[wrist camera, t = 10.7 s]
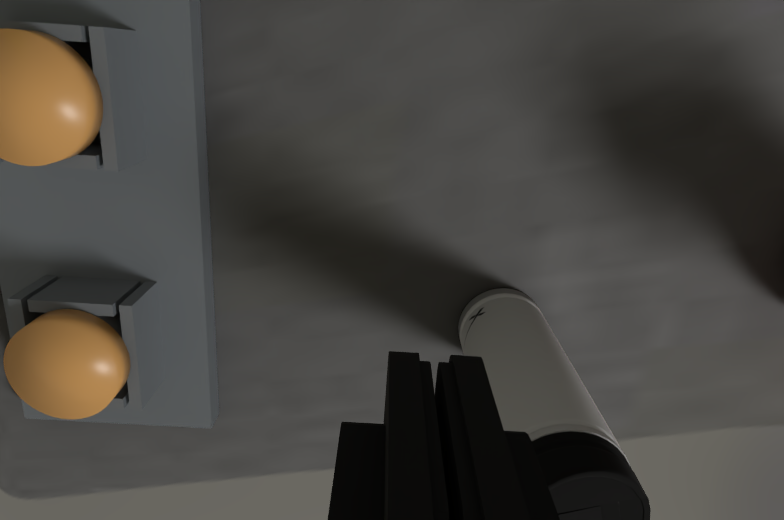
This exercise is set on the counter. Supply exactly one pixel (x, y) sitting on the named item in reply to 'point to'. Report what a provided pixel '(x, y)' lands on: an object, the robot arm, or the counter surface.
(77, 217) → the console
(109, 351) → the knob
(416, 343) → the counter surface
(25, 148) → the knob
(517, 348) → the travel mug
